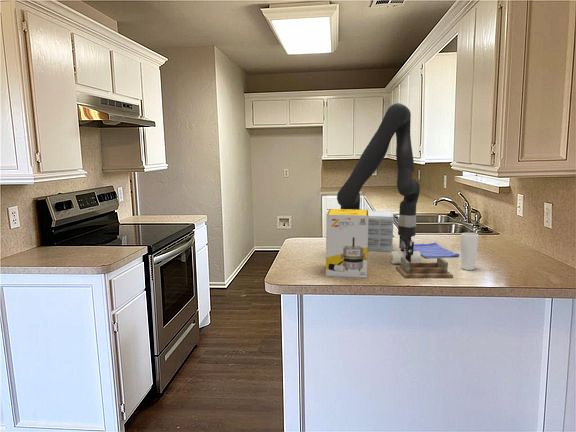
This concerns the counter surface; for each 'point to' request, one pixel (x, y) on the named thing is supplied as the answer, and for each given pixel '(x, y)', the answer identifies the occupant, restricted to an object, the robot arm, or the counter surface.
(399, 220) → the robot arm
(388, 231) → the supplement box
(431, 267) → the cradle
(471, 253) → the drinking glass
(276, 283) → the counter surface
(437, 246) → the dish towel
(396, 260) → the roll
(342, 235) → the packaging box
